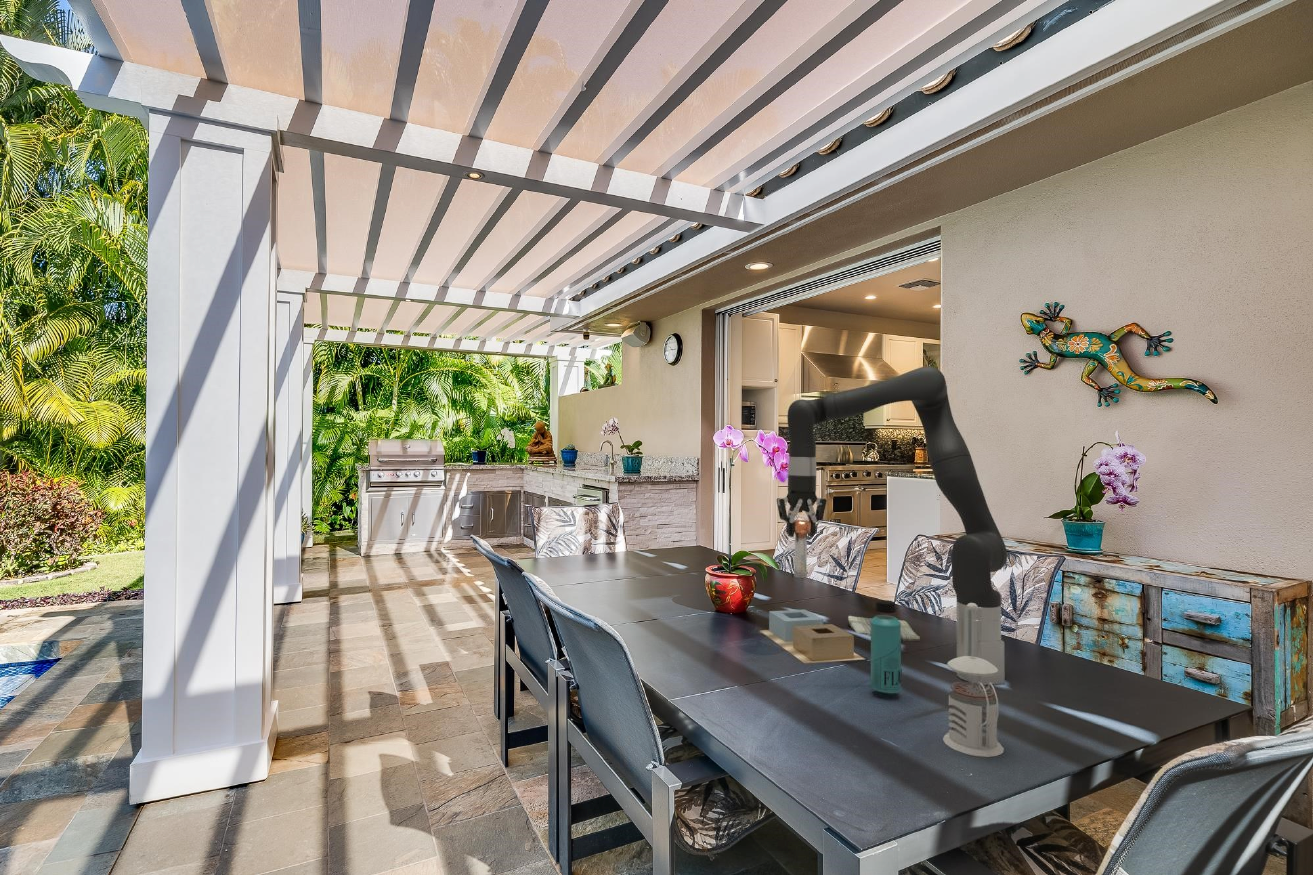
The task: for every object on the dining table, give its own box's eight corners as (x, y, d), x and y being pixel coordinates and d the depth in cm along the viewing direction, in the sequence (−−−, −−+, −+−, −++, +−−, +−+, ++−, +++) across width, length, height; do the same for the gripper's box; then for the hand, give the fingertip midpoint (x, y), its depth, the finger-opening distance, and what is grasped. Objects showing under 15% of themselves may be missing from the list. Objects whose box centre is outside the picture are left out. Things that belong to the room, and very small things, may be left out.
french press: (984, 731, 120) (984, 596, 121) (1022, 761, 109) (1021, 612, 109) (933, 732, 120) (932, 596, 120) (965, 762, 108) (964, 612, 109)
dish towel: (922, 644, 177) (922, 632, 177) (855, 640, 180) (855, 629, 180) (907, 626, 196) (907, 615, 196) (846, 623, 199) (846, 612, 199)
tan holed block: (853, 658, 158) (853, 635, 158) (812, 661, 156) (812, 638, 156) (832, 645, 169) (832, 624, 169) (793, 647, 166) (793, 626, 167)
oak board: (865, 665, 158) (865, 659, 158) (804, 669, 154) (804, 663, 154) (811, 632, 186) (811, 627, 186) (759, 635, 182) (759, 630, 182)
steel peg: (813, 578, 173) (814, 522, 173) (795, 578, 171) (796, 522, 172) (804, 574, 178) (805, 519, 178) (787, 574, 177) (788, 520, 177)
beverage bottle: (881, 702, 134) (881, 605, 135) (863, 690, 141) (863, 598, 141) (908, 699, 136) (908, 603, 136) (889, 688, 142) (889, 596, 143)
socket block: (823, 639, 174) (823, 619, 174) (785, 642, 171) (785, 621, 171) (805, 628, 184) (805, 609, 185) (769, 630, 182) (769, 611, 182)
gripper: (783, 474, 170) (782, 539, 169) (833, 474, 173) (831, 538, 173) (771, 472, 177) (770, 534, 177) (819, 473, 180) (818, 534, 180)
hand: (801, 536), depth 175 cm, fingers closed on steel peg, 5 cm apart
